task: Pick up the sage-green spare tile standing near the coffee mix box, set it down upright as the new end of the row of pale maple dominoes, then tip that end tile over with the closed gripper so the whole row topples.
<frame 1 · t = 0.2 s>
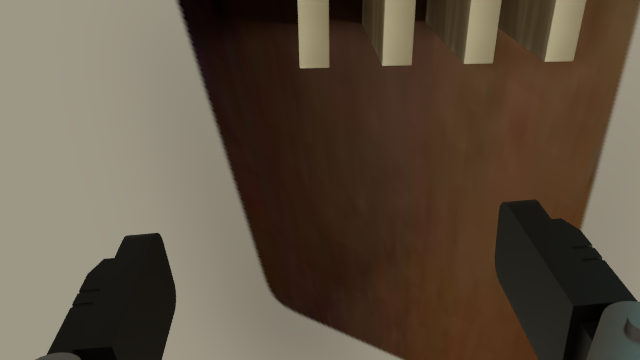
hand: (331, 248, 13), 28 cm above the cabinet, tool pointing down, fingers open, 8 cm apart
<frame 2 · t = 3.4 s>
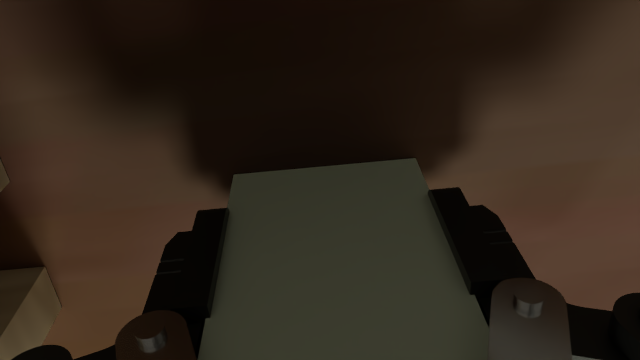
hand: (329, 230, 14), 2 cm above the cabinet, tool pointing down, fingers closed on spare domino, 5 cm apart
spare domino: (326, 191, 15), on the cabinet, touching gripper
when the fingers open (2 cm above the cabinet, at t = 8.2 s): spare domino stays where it is, on the cabinet.
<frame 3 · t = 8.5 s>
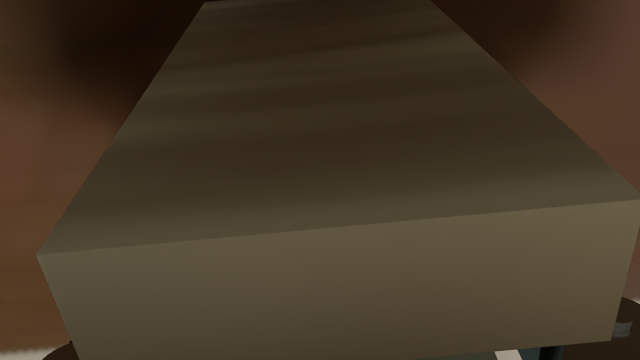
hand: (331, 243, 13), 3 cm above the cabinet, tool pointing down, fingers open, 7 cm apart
domino 4: (311, 26, 14), on the cabinet
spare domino: (322, 183, 16), on the cabinet
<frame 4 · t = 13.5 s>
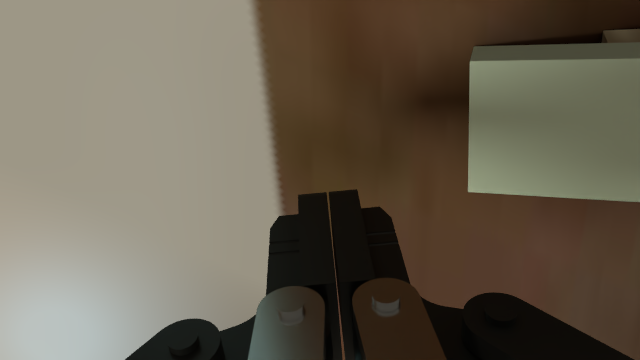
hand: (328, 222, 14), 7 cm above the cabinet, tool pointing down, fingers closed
domino 4: (597, 106, 20), point 1 cm above the cabinet, tilted 69°, touching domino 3, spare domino
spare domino: (470, 121, 20), point 1 cm above the cabinet, tilted 69°, touching domino 4
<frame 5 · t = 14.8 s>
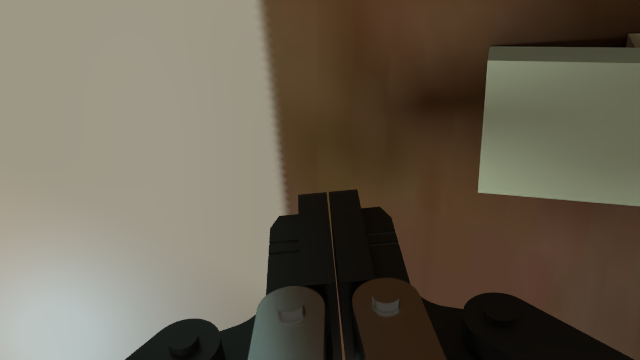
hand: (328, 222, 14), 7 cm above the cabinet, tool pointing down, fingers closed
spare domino: (483, 121, 20), point 1 cm above the cabinet, tilted 70°
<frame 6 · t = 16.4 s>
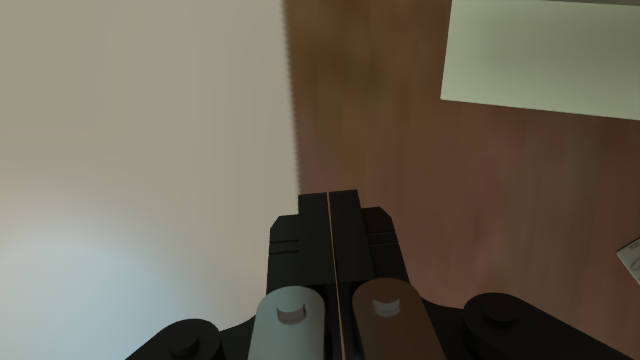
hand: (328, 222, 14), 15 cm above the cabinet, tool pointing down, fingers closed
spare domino: (447, 44, 27), point 1 cm above the cabinet, tilted 71°, touching domino 4
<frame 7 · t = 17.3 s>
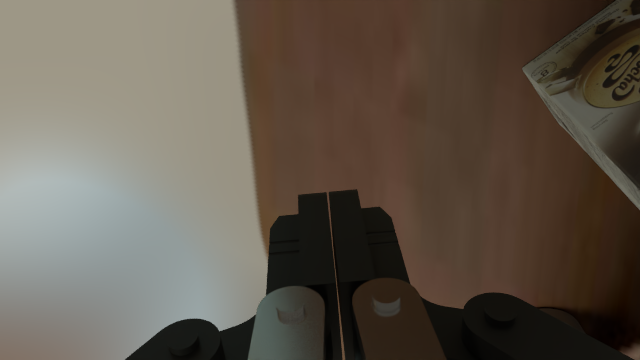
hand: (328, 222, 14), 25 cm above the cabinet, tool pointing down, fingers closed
coffee box: (595, 57, 39), on the cabinet
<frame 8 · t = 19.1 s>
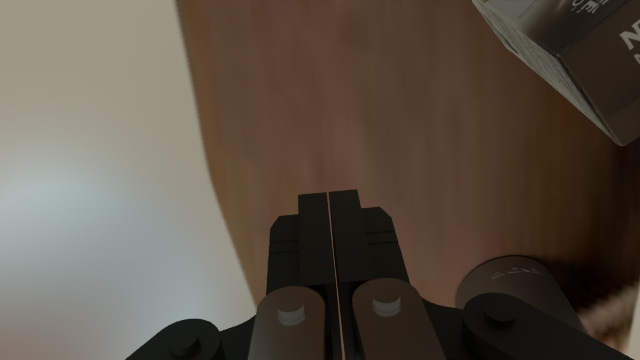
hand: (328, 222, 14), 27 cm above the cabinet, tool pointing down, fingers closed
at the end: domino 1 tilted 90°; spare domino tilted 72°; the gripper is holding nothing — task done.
